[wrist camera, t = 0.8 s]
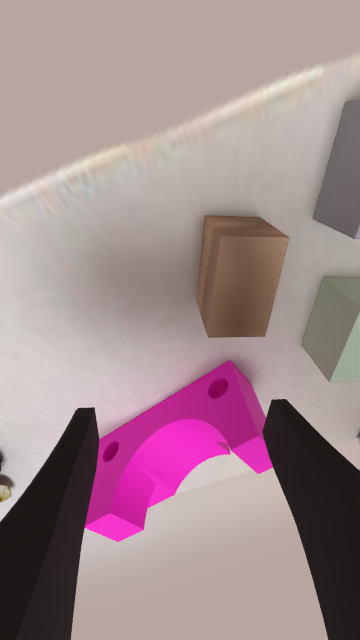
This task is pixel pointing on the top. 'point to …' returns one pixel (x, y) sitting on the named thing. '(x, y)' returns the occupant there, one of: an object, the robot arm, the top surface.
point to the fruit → (4, 491)
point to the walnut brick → (239, 275)
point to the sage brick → (336, 329)
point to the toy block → (174, 448)
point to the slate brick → (343, 177)
